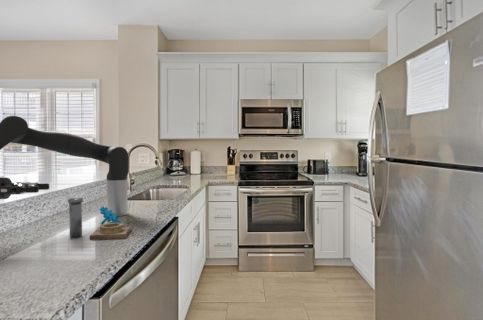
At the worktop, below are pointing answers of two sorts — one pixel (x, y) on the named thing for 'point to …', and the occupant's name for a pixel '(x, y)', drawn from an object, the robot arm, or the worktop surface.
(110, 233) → the stand
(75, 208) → the pin
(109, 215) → the blue irregular figure
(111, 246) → the worktop surface
